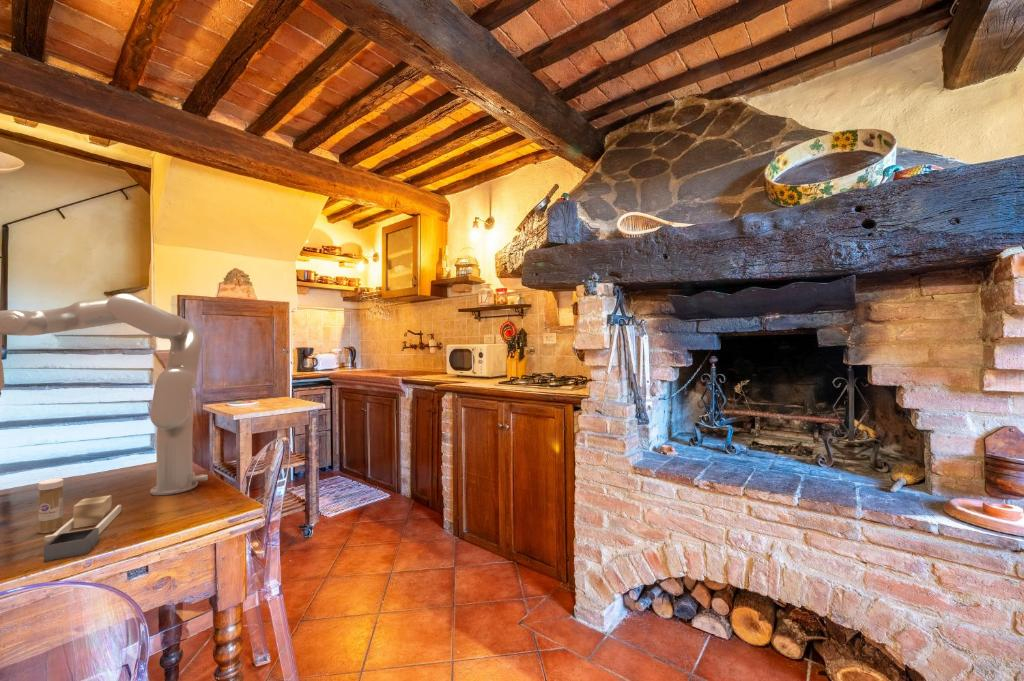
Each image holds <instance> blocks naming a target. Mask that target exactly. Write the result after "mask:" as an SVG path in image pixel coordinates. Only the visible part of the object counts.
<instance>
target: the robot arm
mask: <svg viewBox="0 0 1024 681" xmlns="http://www.w3.org/2000/svg"><path fill="white" fill-rule="evenodd" d="M123 323H124V324H127V325H128V326H131V327H133V328H136V329H137V330H140V331H141V332H144V333H146V334H148V335H151V336H153V337H156V338H159V339H162V340H169V342H170V347H169V352H168V358H167V363H166V367H165V369H164V370H163V371H161V372H160V373H159V374H158V376H157V379H156V381H155V385H154V390H153V395H152V401H151V406H150V412H149V413H150V414H149V416H150V417H149V419H150V421H151V423H152V425H154V426H155V427H156V428H157V429H156V430H157V431H156V485H155V486H153V487H152V488H151V489H150V491H149V492H150V494H151V495H153V496H168V495H169V496H170V495H175V494H180V493H184V492H187V491H190V490H192V489H193V490H194V488H196V487H197V486H198V484H199V482H205V481H208V479H209V477H208V474H205V473H202V474H195V473H196V472H195V471H193V428H194V426H193V424H194V407H193V406H194V405H193V404H192V403H191V397H192V391H193V388H194V387H195V386H196V383H197V379H198V371H199V365H200V364H199V363H200V356H201V351H202V350H201V349H202V338H201V335H200V332H199V330H198V328H196V327H197V326H195V325H194V324H193V323H192V322H190V321H189V320H187V319H186V318H184V317H182V316H180V315H177V314H174V313H173V314H172V313H170V312H168V311H165V310H163V309H161V308H160V307H157V306H155V305H152V304H151V303H149V302H147V301H146V300H145V298H142V297H141V296H138V295H135V294H132V293H126V292H125V293H124V292H122V293H117V294H114V295H113V296H111V297H107V298H106V297H105V298H97V299H87V300H79V301H76V302H74V303H73V304H71V305H69V306H63V307H59V308H51V309H44V310H43V309H42V310H36V311H30V310H19V309H6V310H0V396H1V395H2V392H1V391H2V390H3V389H4V388H5V372H4V365H3V364H4V363H3V359H2V357H3V335H7V336H17V337H18V336H20V337H21V336H22V337H23V336H40V335H49V334H53V333H54V334H55V333H60V332H68V331H73V330H84V329H88V328H94V327H103V326H108V325H115V324H123Z"/></svg>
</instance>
